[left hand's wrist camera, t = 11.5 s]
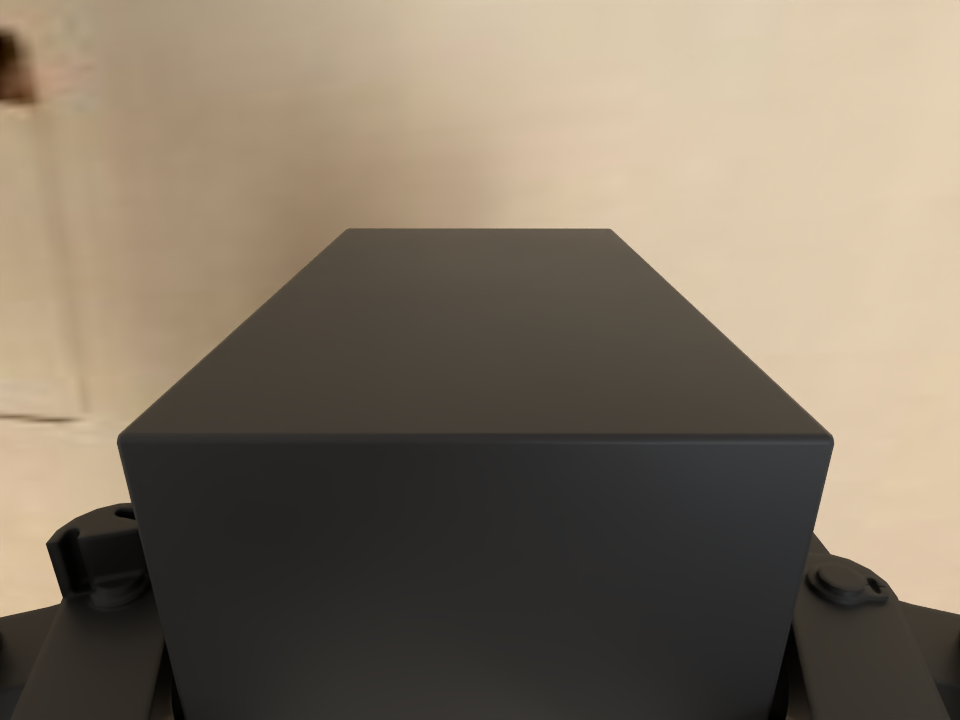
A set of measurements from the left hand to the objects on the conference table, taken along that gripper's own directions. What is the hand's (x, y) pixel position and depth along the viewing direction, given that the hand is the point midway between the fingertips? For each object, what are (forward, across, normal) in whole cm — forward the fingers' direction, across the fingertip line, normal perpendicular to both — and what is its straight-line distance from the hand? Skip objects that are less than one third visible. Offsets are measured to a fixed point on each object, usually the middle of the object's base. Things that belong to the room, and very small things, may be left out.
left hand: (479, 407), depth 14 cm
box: (+1, 0, -8) cm, 9 cm away
